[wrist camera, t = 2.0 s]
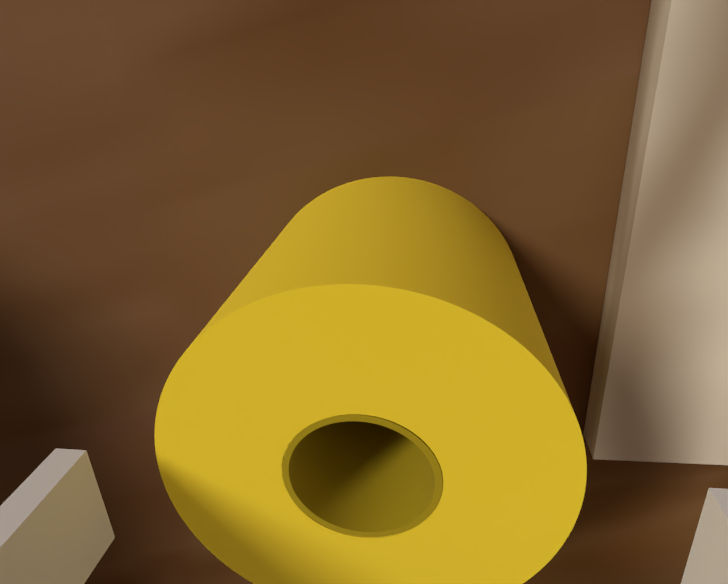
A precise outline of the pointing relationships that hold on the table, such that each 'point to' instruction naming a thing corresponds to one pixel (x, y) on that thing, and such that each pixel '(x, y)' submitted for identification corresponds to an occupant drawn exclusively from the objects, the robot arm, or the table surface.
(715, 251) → the board
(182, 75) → the table surface
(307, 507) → the tape roll
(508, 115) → the table surface
